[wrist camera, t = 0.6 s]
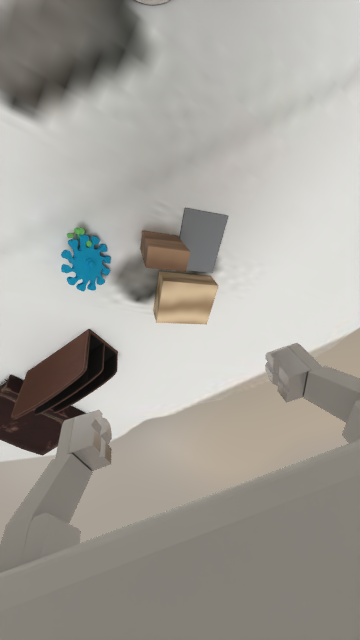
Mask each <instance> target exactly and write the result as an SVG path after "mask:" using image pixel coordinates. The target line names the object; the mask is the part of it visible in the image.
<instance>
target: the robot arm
mask: <svg viewBox="0 0 360 640" xmlns="http://www.w3.org/2000/svg"><path fill="white" fill-rule="evenodd" d="M136 1H138V2H141V3H144V4H150V5H156V4H162V3H165V2H167V1H169V0H136ZM266 360H267V361H268V362H267V363H266V365H265V366H266V372H267V375H268V377H269V379H270V381H271V382H272V383H273V384H275V385H277V386H278V392H279V393H280V395H281V396H282V397H283V399H284V400H285V401H286V402H289V401H292V400H295V399H298V398H301V397H304V398H305V399H306V400H308V401H310V402H311V403H313V404H315V405H317V406H318V407H320V408H322V409H324V410H325V411H327V412H329V413H330V414H332V415H334V416H336V417H337V418H339V419H341V420H342V421H344V422H346V425H345V428H344V430H343V433H342V435H343V437H344V438H345V439H346V440H347V442H348V443H349V444H347V445H344V446H341V447H338V448H336V449H333V450H330V451H327V452H325V453H322V454H319V455H317V456H314V457H311V458H309V459H306V460H303V461H301V462H298V463H296V464H292V465H290V466H287V467H284V468H282V469H279V470H276V471H273V472H271V473H268V474H266V475H263V476H261V477H257V478H255V479H252V480H249V481H246V482H244V483H241V484H238V485H236V486H233V487H230V488H228V489H225V490H222V491H220V492H217V493H214V494H212V495H209V496H206V497H203V498H201V499H198V500H195V501H192V502H190V503H187V504H184V505H182V506H179V507H176V508H174V509H171V510H169V511H166V512H163V513H160V514H158V515H155V516H152V517H150V518H147V519H144V520H141V521H139V522H136V523H133V524H130V525H128V526H125V527H122V528H120V529H117V530H114V531H112V532H109V533H106V534H104V535H101V536H98V537H96V538H93V539H90V540H87V541H85V542H82V543H80V534H81V531H80V530H79V529H78V528H76V527H74V526H72V525H70V524H69V522H70V520H71V518H72V516H73V514H74V512H75V509H76V507H77V505H78V503H79V501H80V499H81V496H82V494H83V492H84V490H85V488H86V486H87V484H88V481H89V479H90V477H91V475H92V471H94V470H97V469H99V468H102V467H104V466H107V465H110V464H111V448H110V446H109V445H108V444H109V442H110V440H111V427H110V424H109V422H108V420H107V419H105V418H102V413H101V411H100V410H96V411H93V412H90V413H87V414H83V415H80V416H77V417H74V418H71V419H67V420H65V421H64V422H63V424H62V428H61V433H60V438H59V443H58V448H57V453H56V458H55V459H53V460H52V461H51V462H50V463H49V465H48V466H47V468H46V469H45V471H44V472H43V474H42V475H41V477H40V478H39V479H38V481H37V482H36V483H35V485H34V486H33V488H32V489H31V491H30V492H29V493H28V495H27V496H26V498H25V499H24V501H23V502H22V503H21V505H20V506H19V508H18V509H17V511H16V512H15V513H14V515H13V516H12V518H11V519H10V521H9V522H8V524H7V525H6V527H5V531H4V534H3V537H2V541H1V544H0V640H360V378H357V377H355V376H352V375H349V374H346V373H344V372H341V371H338V370H336V369H333V368H330V367H327V366H323V367H322V366H321V365H320V364H319V363H318V362H317V361H316V360H315V359H314V358H313V357H312V356H311V355H310V354H309V353H308V352H307V351H306V350H305V349H304V348H303V347H302V346H301V345H300V344H298V343H295V344H292V345H289V346H286V347H282V348H279V349H277V350H274V351H271V352H268V353H267V354H266Z"/></svg>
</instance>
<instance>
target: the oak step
mask: <svg viewBox="0 0 360 640" xmlns="http://www.w3.org/2000/svg"><path fill="white" fill-rule="evenodd" d="M217 289H218V284H217V283H216V282H215V281H214V280H213V278H212V277H211V276H204V275H194V274H184V273H174V272H163V271H159V277H158V284H157V290H156V297H155V303H154V310H153V311H154V315H155V319H156V323H183V324H207V321H208V318H209V315H210V312H211V308H212V305H213V302H214V299H215V295H216V292H217Z"/></svg>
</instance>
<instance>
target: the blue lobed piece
mask: <svg viewBox="0 0 360 640" xmlns="http://www.w3.org/2000/svg"><path fill="white" fill-rule="evenodd" d="M74 231H75V233H74V234H70V233H68V234H67V237H68V238H74V239H71V240H69V241H68V244H69V245H70V246H71V248H72V249H73V252H74V257H73V258H72V255H71V252H70V251H68V250H64V251H63V252H62V254H61V256H62V257H63V258H66V259H68V260H69V262H70V263H72V264H73V267H72V268H71V267H70V266H69V265H65V264H63V265H62V268H61V269H62V272H65V273H69V272H72V271H73V272H75V273H76V277H74V278H73V277H68V278H67V281H68V283H69V284H70V285H75V283H76V282H77V281H78V280H80V279H83V282H82V283H80V284H78V285H77V286H76V287H77V289H79V290H81V291H85V289H86V284H87V283H88V281H89V280H90V284H89V285H88V287H87V288H88V289H89V290H96V286H95V280H96V277H97V284H99V285H102V284H104V283H105V280H104V279H103V278H102V276H101V269H102V273H103V274H104V275H108V274H109V272H110V269H107V268H105V267H104V266H103V264H102V261H104V262H105V263H110V260H111V257H109V256H104V257H101V256H100V251H102V252H106V251H107V247H106V245H103V244H101V245H100V246H99V247H98V248H97V249H94V245H95V244H98V243H99V242H100V240H99V239H98V238H97V237H96V236H92V237H91V241H88V240H89V236H87V235H83V234H84V233H85V230H84V229H83V228H75V229H74ZM86 246H87V247H86Z"/></svg>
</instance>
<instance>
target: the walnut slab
mask: <svg viewBox="0 0 360 640" xmlns="http://www.w3.org/2000/svg"><path fill="white" fill-rule="evenodd" d="M140 249H141V253H142V256H143V260H144V263H145V266H146V268H156V269H166V270H176V271H186V270H187V265H188V260H189V256H190V251H189V249H188V248H187V247H186V246H185V245H184V243H183V242H182V241H181V240H180V239H179V237H178V236H175V235H169V234H162V233H155V232H148V231H142V237H141V247H140Z"/></svg>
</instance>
